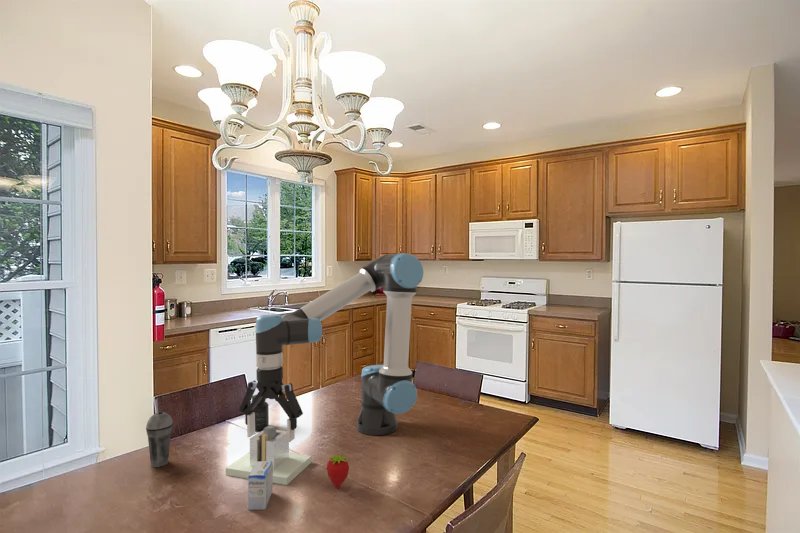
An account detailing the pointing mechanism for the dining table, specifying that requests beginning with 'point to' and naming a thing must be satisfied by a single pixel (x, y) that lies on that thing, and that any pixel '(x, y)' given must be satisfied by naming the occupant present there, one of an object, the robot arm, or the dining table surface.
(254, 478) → the medicine box
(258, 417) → the supplement bottle
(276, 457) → the keyed collar
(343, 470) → the strawberry
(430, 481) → the dining table surface
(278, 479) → the shaft stand
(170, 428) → the beverage cup
